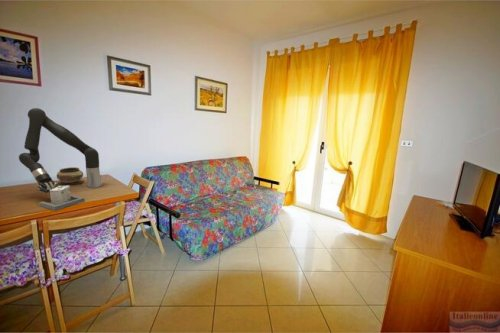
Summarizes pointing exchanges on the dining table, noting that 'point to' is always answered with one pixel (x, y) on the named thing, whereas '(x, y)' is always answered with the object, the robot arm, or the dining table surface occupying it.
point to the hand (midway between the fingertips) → (55, 195)
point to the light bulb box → (60, 195)
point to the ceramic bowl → (70, 175)
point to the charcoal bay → (63, 205)
